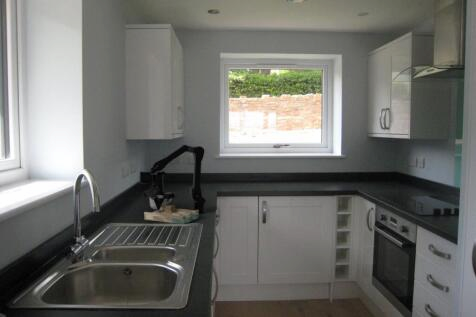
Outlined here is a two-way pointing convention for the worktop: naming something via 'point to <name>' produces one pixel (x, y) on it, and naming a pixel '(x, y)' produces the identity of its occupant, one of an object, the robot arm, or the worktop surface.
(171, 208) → the walnut block
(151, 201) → the teacup
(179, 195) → the worktop surface
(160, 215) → the track
